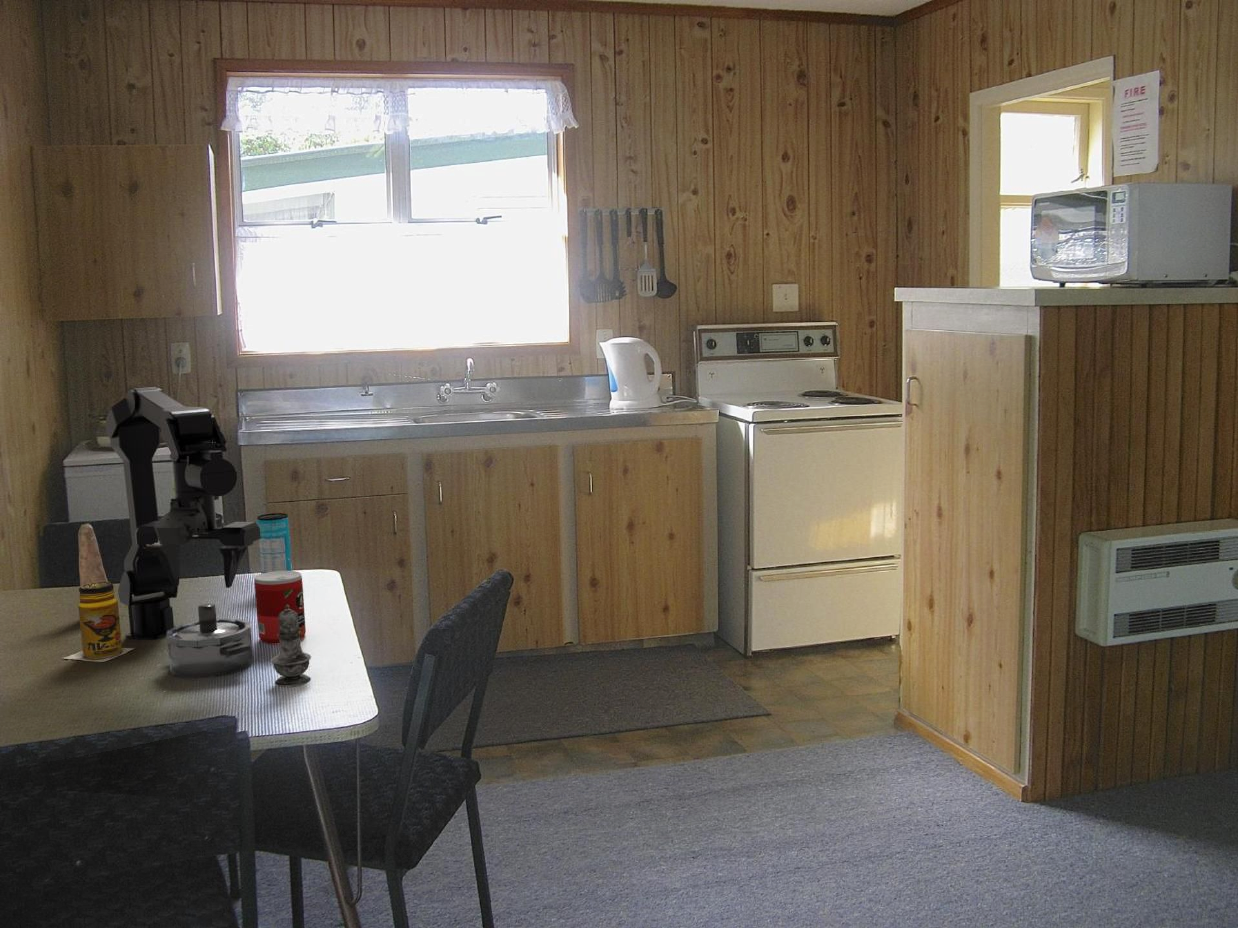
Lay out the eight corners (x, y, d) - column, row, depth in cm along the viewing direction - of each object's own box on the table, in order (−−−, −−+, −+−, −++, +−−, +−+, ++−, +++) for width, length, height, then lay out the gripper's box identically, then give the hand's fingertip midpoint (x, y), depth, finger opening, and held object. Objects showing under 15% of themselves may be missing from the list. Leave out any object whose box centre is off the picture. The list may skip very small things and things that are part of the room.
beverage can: (299, 587, 247) (294, 514, 245) (277, 594, 242) (271, 519, 240) (278, 584, 250) (273, 512, 248) (256, 591, 245) (250, 517, 243)
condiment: (105, 662, 200) (98, 590, 198) (62, 659, 202) (55, 588, 201) (135, 649, 207) (128, 580, 205) (93, 646, 209) (87, 578, 207)
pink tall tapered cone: (114, 614, 233) (80, 622, 229) (98, 521, 232) (63, 527, 229) (122, 616, 228) (88, 623, 224) (106, 520, 227) (71, 526, 224)
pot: (147, 665, 197) (144, 629, 196) (218, 646, 206) (216, 612, 205) (204, 686, 185) (201, 647, 184) (277, 665, 194) (274, 628, 194)
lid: (166, 642, 192) (163, 612, 191) (199, 626, 200) (197, 597, 200) (219, 644, 189) (216, 614, 189) (250, 628, 198) (248, 599, 198)
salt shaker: (276, 676, 189) (271, 600, 187) (315, 674, 189) (310, 598, 188) (269, 688, 183) (263, 610, 181) (309, 686, 184) (303, 608, 182)
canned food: (294, 645, 206) (289, 581, 204) (250, 644, 207) (245, 580, 206) (314, 632, 213) (309, 570, 212) (271, 631, 215) (267, 570, 213)
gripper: (109, 498, 186) (119, 598, 189) (221, 498, 182) (229, 600, 185) (152, 486, 197) (160, 580, 199) (258, 486, 193) (265, 583, 195)
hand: (202, 586), depth 194 cm, fingers open, 9 cm apart
